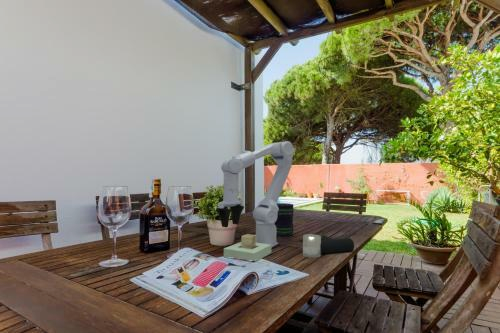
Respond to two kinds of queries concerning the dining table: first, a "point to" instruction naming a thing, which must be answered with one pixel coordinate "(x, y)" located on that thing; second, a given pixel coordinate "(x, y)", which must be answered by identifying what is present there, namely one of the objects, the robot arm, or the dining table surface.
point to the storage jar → (284, 220)
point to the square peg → (248, 241)
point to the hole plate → (247, 251)
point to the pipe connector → (336, 245)
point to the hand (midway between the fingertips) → (230, 225)
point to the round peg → (311, 245)
